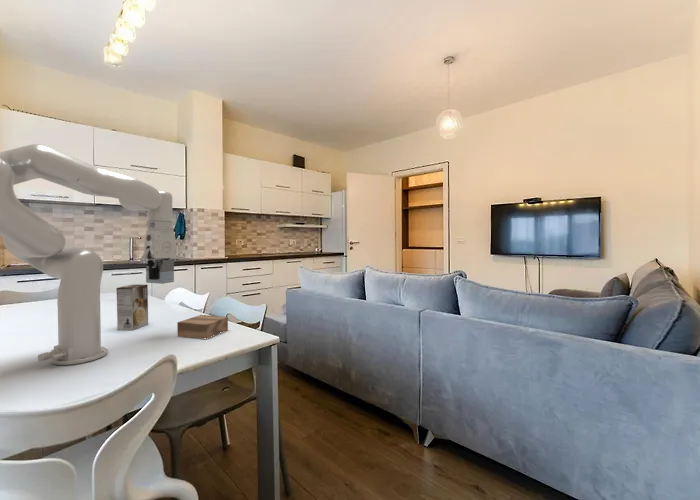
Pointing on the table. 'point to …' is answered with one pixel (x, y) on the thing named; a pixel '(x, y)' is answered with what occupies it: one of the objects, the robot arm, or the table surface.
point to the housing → (162, 272)
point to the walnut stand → (202, 326)
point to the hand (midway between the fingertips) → (160, 278)
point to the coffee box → (132, 307)
